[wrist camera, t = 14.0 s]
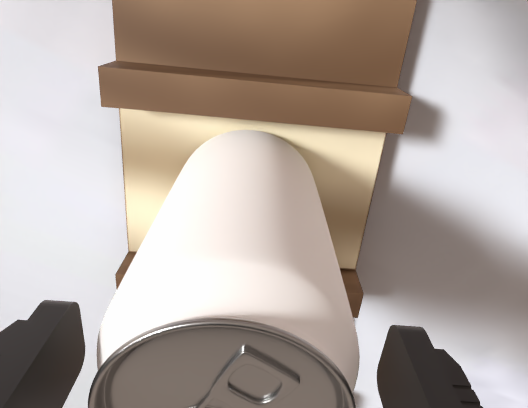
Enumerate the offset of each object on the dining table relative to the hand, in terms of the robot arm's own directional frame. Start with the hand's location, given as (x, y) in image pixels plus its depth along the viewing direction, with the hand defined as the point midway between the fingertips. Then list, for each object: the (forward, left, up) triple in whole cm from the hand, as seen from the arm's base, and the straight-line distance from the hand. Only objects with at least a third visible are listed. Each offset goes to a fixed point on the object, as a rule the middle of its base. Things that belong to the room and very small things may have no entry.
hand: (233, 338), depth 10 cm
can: (0, 0, -10) cm, 10 cm away
